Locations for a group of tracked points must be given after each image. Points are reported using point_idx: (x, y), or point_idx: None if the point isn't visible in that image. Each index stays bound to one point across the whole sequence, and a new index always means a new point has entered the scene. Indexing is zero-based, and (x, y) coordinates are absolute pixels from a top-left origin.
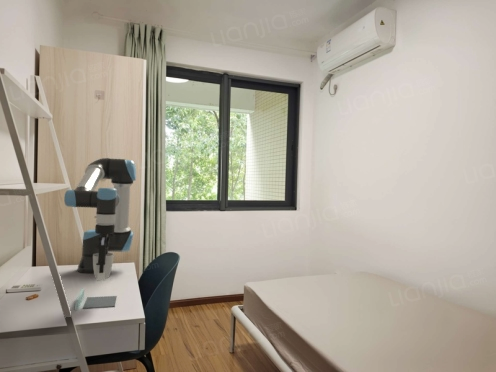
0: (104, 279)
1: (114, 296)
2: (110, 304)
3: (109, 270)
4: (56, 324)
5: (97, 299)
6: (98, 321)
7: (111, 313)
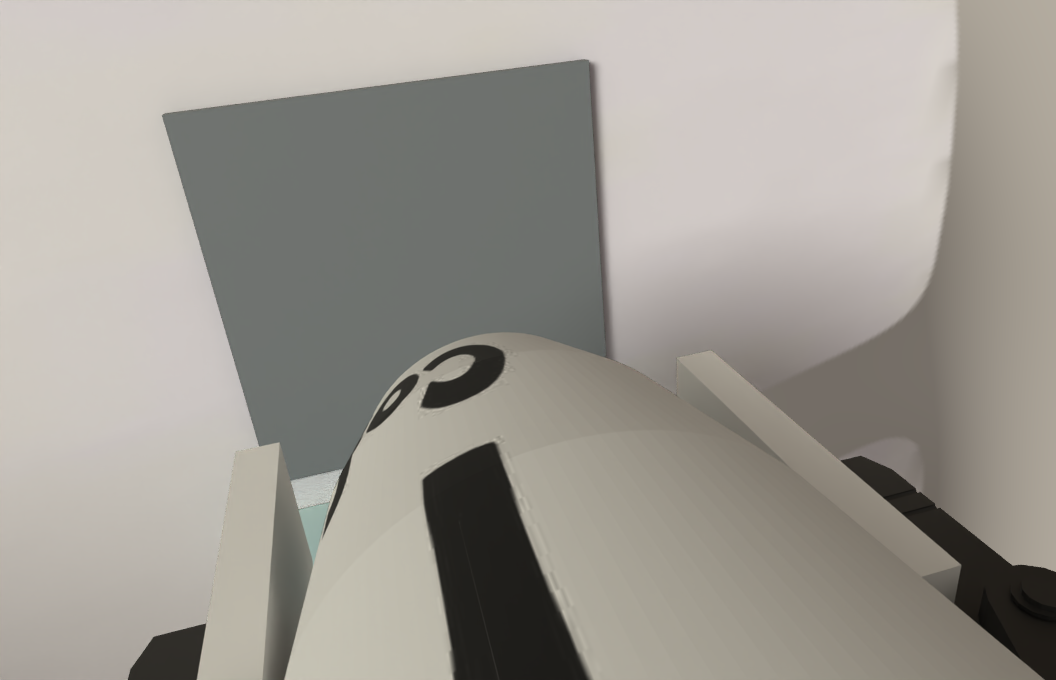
0: (703, 358)
1: (196, 146)
2: (534, 129)
3: (654, 383)
4: (897, 463)
5: (345, 345)
6: (941, 148)
7: (779, 56)
